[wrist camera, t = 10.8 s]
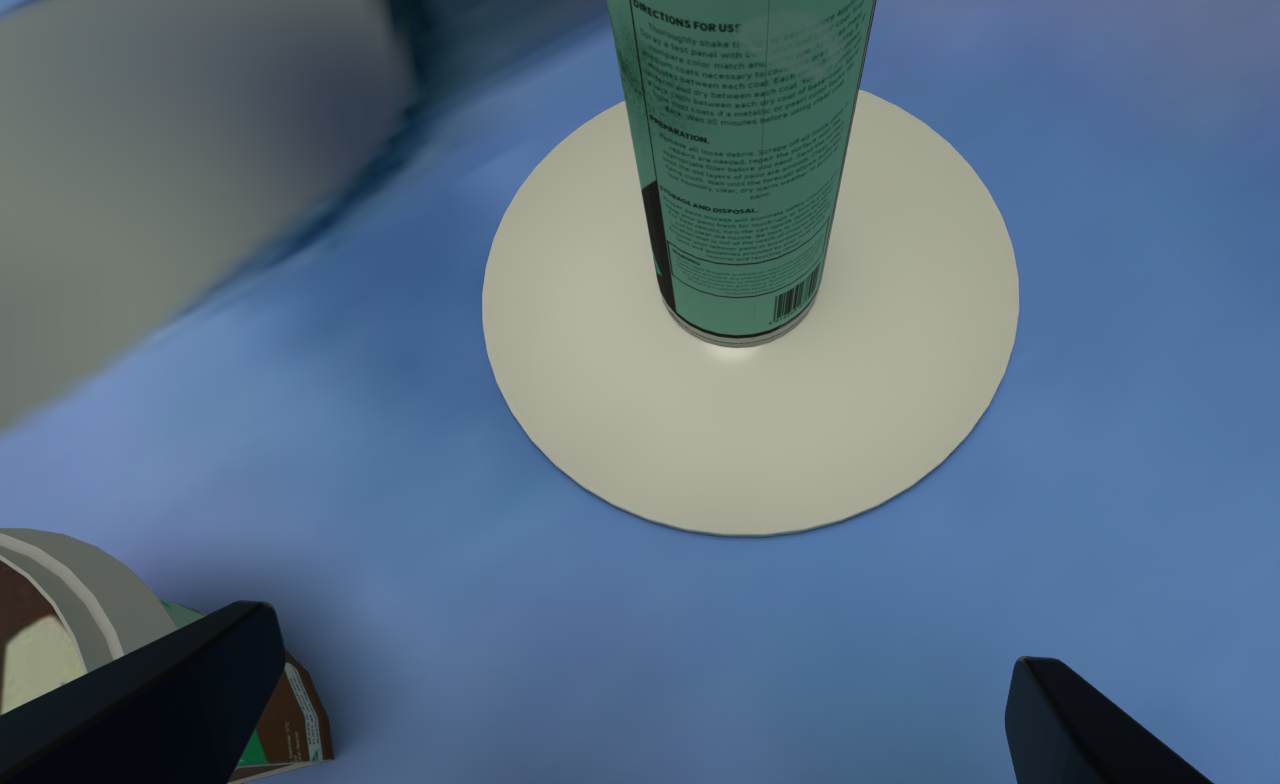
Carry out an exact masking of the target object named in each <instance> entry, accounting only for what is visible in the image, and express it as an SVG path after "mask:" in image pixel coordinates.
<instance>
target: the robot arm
mask: <svg viewBox="0 0 1280 784" xmlns="http://www.w3.org/2000/svg"><path fill="white" fill-rule="evenodd" d="M285 665H286V649H285V645H284V641H283V638H282V634H281V630H280V626H279V622H278V618H277V614H276V611H275V609H274V607H273V606H272V605H271V604H269V603H267V602H261V601H247V600H241V601H236V602H234V603H231V604H229V605H227V606H225V607H223V608H221V609H219V610H217V611H215V612H213V613H211V614H209V615H207V616H205V617H203V618H200V619H198V620H196V621H194V622H192V623H190V624H188V625H186V626H184V627H182V628H180V629H178V630H176V631H174V632H172V633H169V634H167V635H165V636H163V637H161V638H159V639H157V640H155V641H153V642H151V643H149V644H147V645H145V646H143V647H141V648H138V649H136V650H134V651H132V652H130V653H128V654H126V655H124V656H122V657H120V658H118V659H116V660H114V661H112V662H110V663H107V664H105V665H103V666H101V667H99V668H97V669H95V670H93V671H91V672H89V673H87V674H85V675H83V676H81V677H78V678H76V679H74V680H72V681H70V682H68V683H66V684H64V685H62V686H60V687H58V688H56V689H54V690H52V691H50V692H47V693H45V694H43V695H41V696H39V697H37V698H35V699H33V700H31V701H29V702H27V703H25V704H23V705H21V706H19V707H16V708H14V709H12V710H10V711H8V712H6V713H4V714H2V715H0V784H228V782H229V780H230V778H231V776H232V774H233V772H234V770H235V769H236V767H237V765H238V763H239V761H240V759H241V757H242V755H243V753H244V751H245V749H246V747H247V745H248V743H249V741H250V739H251V737H252V735H253V733H254V731H255V729H256V727H257V725H258V723H259V721H260V719H261V717H262V715H263V713H264V711H265V709H266V706H267V704H268V702H269V700H270V698H271V696H272V694H273V692H274V690H275V688H276V686H277V684H278V682H279V680H280V678H281V676H282V674H283V672H284V669H285ZM1005 729H1006V736H1007V740H1008V745H1009V749H1010V753H1011V758H1012V762H1013V766H1014V771H1015V775H1016V779H1017V783H1018V784H1214V783H1212V782H1211V781H1210V780H1209V779H1208V778H1206V777H1205V776H1204V775H1203V774H1201V773H1200V772H1199V771H1198V770H1196V769H1195V768H1194V767H1193V766H1191V765H1190V764H1189V763H1188V762H1186V761H1185V760H1184V759H1183V758H1181V757H1180V756H1179V755H1178V754H1176V753H1175V752H1174V751H1173V750H1171V749H1170V748H1169V747H1168V746H1167V745H1165V744H1164V743H1163V742H1162V741H1160V740H1159V739H1158V738H1157V737H1155V736H1154V735H1153V734H1152V733H1150V732H1149V731H1148V730H1147V729H1145V728H1144V727H1143V726H1142V725H1140V724H1139V723H1138V722H1137V721H1135V720H1134V719H1133V718H1132V717H1130V716H1129V715H1128V714H1127V713H1126V712H1124V711H1123V710H1122V709H1121V708H1119V707H1118V706H1117V705H1116V704H1114V703H1113V702H1112V701H1111V700H1109V699H1108V698H1107V697H1106V696H1104V695H1103V694H1102V693H1101V692H1099V691H1098V690H1097V689H1096V688H1094V687H1093V686H1092V685H1091V684H1089V683H1088V682H1087V681H1086V680H1085V679H1083V678H1082V677H1081V676H1080V675H1078V674H1077V673H1076V672H1075V671H1073V670H1072V669H1071V668H1070V667H1068V666H1067V665H1066V664H1065V663H1063V662H1062V661H1060V660H1058V659H1055V658H1045V657H1031V656H1022V657H1021V658H1019V659H1018V660H1017V661H1016V663H1015V665H1014V669H1013V675H1012V680H1011V685H1010V690H1009V695H1008V700H1007V705H1006V710H1005Z"/></svg>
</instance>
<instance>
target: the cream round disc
mask: <svg viewBox="0 0 1280 784" xmlns="http://www.w3.org/2000/svg"><path fill="white" fill-rule="evenodd" d="M482 309H483V329H484V335H485V341H486V347H487V353H488V357H489V360H490V363H491V366H492V369H493V372H494V375H495V378H496V381H497V384H498V386H499V388H500V390H501V392H502V394H503V396H504V398H505V400H506V402H507V404H508V406H509V408H510V410H511V412H512V413H513V415H514V416H515V417H516V419H517V420H518V422H519V423H520V425H521V426H522V427H523V429H524V430H525V432H526V433H527V434H528V436H529V437H530V439H531V440H532V441H533V443H534V444H535V445H536V446H537V447H538V448H539V449H540V450H541V451H542V452H543V453H544V454H545V456H546V457H547V458H548V459H549V460H550V461H551V462H552V463H553V464H554V465H555V466H556V467H557V468H558V469H559V470H560V471H562V472H563V473H564V474H565V475H567V476H568V477H569V478H570V479H572V480H573V481H574V482H576V483H577V484H578V485H579V486H581V487H582V488H583V489H584V490H586V491H588V492H589V493H591V494H593V495H594V496H596V497H598V498H600V499H601V500H603V501H605V502H606V503H608V504H610V505H611V506H613V507H615V508H617V509H619V510H622V511H624V512H627V513H629V514H631V515H634V516H636V517H639V518H641V519H643V520H646V521H648V522H651V523H655V524H658V525H662V526H666V527H669V528H673V529H677V530H681V531H684V532H690V533H697V534H705V535H712V536H719V537H770V536H778V535H786V534H794V533H803V532H806V531H810V530H814V529H818V528H822V527H826V526H829V525H833V524H837V523H841V522H843V521H846V520H848V519H851V518H853V517H856V516H858V515H860V514H863V513H865V512H868V511H870V510H873V509H875V508H877V507H879V506H881V505H883V504H884V503H886V502H888V501H889V500H891V499H893V498H895V497H896V496H898V495H900V494H902V493H903V492H905V491H907V490H909V489H910V488H911V487H913V486H914V485H915V484H916V483H918V482H919V481H920V480H922V479H923V478H924V477H925V476H927V475H928V474H929V473H931V472H932V471H933V470H934V469H936V468H937V467H938V466H939V465H940V464H941V463H942V462H943V461H944V460H945V459H946V458H947V457H948V456H949V455H950V454H951V453H952V452H953V451H954V450H955V449H956V448H957V446H958V445H959V444H960V443H961V442H962V441H963V440H964V439H965V438H966V437H967V435H968V434H969V433H970V431H971V430H972V428H973V427H974V426H975V424H976V423H977V421H978V420H979V418H980V417H981V416H982V414H983V413H984V411H985V410H986V408H987V407H988V406H989V404H990V402H991V400H992V398H993V396H994V394H995V392H996V390H997V388H998V386H999V384H1000V382H1001V380H1002V378H1003V376H1004V374H1005V371H1006V368H1007V364H1008V361H1009V358H1010V355H1011V351H1012V348H1013V345H1014V341H1015V335H1016V328H1017V320H1018V313H1019V286H1018V273H1017V267H1016V262H1015V257H1014V251H1013V246H1012V243H1011V240H1010V238H1009V235H1008V232H1007V229H1006V226H1005V223H1004V221H1003V218H1002V216H1001V214H1000V212H999V210H998V208H997V206H996V204H995V202H994V200H993V199H992V197H991V195H990V193H989V191H988V189H987V188H986V186H985V185H984V184H983V182H982V181H981V180H980V178H979V177H978V176H977V174H976V173H975V171H974V170H973V169H972V167H971V166H970V165H969V164H968V162H967V161H966V160H965V159H964V158H963V157H962V156H961V155H960V154H959V153H958V152H957V151H956V150H955V149H954V148H953V147H952V146H951V145H950V144H949V143H948V142H947V141H946V140H945V139H943V138H942V137H941V136H940V135H938V134H937V133H936V132H935V131H934V130H932V129H931V128H930V127H929V126H927V125H926V124H925V123H923V122H922V121H920V120H919V119H917V118H915V117H914V116H912V115H911V114H909V113H907V112H906V111H904V110H903V109H901V108H899V107H898V106H896V105H894V104H891V103H889V102H887V101H885V100H883V99H881V98H879V97H877V96H875V95H873V94H871V93H868V92H865V91H862V90H859V92H858V97H857V102H856V107H855V112H854V117H853V122H852V127H851V133H850V138H849V143H848V148H847V153H846V158H845V163H844V168H843V173H842V178H841V183H840V189H839V194H838V199H837V204H836V209H835V214H834V219H833V224H832V229H831V234H830V239H829V245H828V250H827V255H826V260H825V265H824V270H823V275H822V280H821V284H820V287H819V291H818V294H817V297H816V299H815V302H814V305H813V306H812V308H811V309H810V311H809V313H808V314H807V316H806V317H805V318H804V319H803V320H802V321H801V322H800V323H799V324H798V325H797V326H796V327H795V328H794V329H792V330H791V331H790V332H788V333H787V334H785V335H784V336H782V337H780V338H778V339H775V340H773V341H771V342H769V343H765V344H761V345H757V346H753V347H740V348H734V347H724V346H718V345H715V344H711V343H708V342H705V341H703V340H701V339H699V338H697V337H695V336H693V335H691V334H690V333H688V332H687V331H686V330H684V329H683V328H682V327H680V326H679V325H678V324H677V322H676V321H675V320H674V319H673V318H672V316H671V315H670V314H669V312H668V310H667V308H666V306H665V305H664V303H663V299H662V296H661V293H660V289H659V285H658V281H657V276H656V270H655V265H654V259H653V254H652V248H651V242H650V237H649V231H648V226H647V220H646V215H645V209H644V203H643V198H642V192H641V187H640V181H639V176H638V170H637V164H636V159H635V153H634V148H633V142H632V137H631V131H630V125H629V120H628V114H627V109H626V103H625V101H623V102H621V103H619V104H617V105H615V106H613V107H611V108H609V109H607V110H605V111H604V112H602V113H601V114H599V115H597V116H596V117H594V118H593V119H591V120H590V121H588V122H587V123H585V124H583V125H582V126H580V127H579V128H578V129H577V130H575V131H574V132H573V133H572V134H570V135H569V136H568V137H567V138H566V139H564V140H563V141H562V142H561V143H559V144H558V145H557V146H556V147H555V148H554V149H553V150H552V151H551V152H550V153H549V154H548V155H547V156H546V157H545V158H544V159H543V160H542V161H541V162H540V163H539V164H538V165H537V166H536V168H535V169H534V170H533V172H532V173H531V174H530V176H529V177H528V178H527V179H526V181H525V182H524V183H523V185H522V186H521V187H520V188H519V190H518V192H517V193H516V195H515V197H514V199H513V200H512V202H511V204H510V205H509V207H508V209H507V210H506V212H505V214H504V216H503V219H502V221H501V223H500V226H499V228H498V230H497V233H496V235H495V237H494V240H493V243H492V247H491V251H490V254H489V258H488V262H487V265H486V271H485V278H484V286H483V294H482Z"/></svg>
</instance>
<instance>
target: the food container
mask: <svg viewBox="0 0 1280 784" xmlns="http://www.w3.org/2000/svg"><path fill="white" fill-rule="evenodd" d="M207 615H208V614H205V613H202V612H199V611H196V610H193V609H190V608H187V607H184V606H181V605H178V604H175V603H172V602H169V601H166V600H163V599H159V598H157V597H156V595H155V593H154V592H153V591H152V590H151V589H150V588H149V587H148V586H147V585H146V584H145V583H144V582H143V581H142V580H141V579H140V578H139V577H138V576H137V575H136V574H135V573H134V572H133V571H132V570H131V569H130V568H129V567H128V566H126V565H124V564H123V563H121V562H120V561H118V560H117V559H115V558H114V557H112V556H110V555H109V554H107V553H106V552H104V551H103V550H101V549H100V548H98V547H96V546H93V545H91V544H88V543H85V542H83V541H80V540H77V539H75V538H72V537H69V536H67V535H64V534H58V533H52V532H46V531H39V530H33V529H21V528H0V715H2V714H4V713H6V712H8V711H10V710H12V709H14V708H16V707H19V706H21V705H23V704H25V703H27V702H29V701H31V700H33V699H35V698H37V697H39V696H41V695H43V694H45V693H47V692H50V691H52V690H54V689H56V688H58V687H60V686H62V685H64V684H66V683H68V682H70V681H72V680H74V679H76V678H78V677H81V676H83V675H85V674H87V673H89V672H91V671H93V670H95V669H97V668H99V667H101V666H103V665H105V664H107V663H110V662H112V661H114V660H116V659H118V658H120V657H122V656H124V655H126V654H128V653H130V652H132V651H134V650H136V649H138V648H141V647H143V646H145V645H147V644H149V643H151V642H153V641H155V640H157V639H159V638H161V637H163V636H165V635H167V634H169V633H172V632H174V631H176V630H178V629H180V628H182V627H184V626H186V625H188V624H190V623H192V622H194V621H196V620H198V619H200V618H203V617H205V616H207ZM331 760H334V756H333V749H332V742H331V734H330V727H329V720H328V717H327V714H326V712H325V710H324V707H323V705H322V703H321V701H320V698H319V696H318V694H317V692H316V689H315V687H314V685H313V682H312V680H311V678H310V676H309V673H308V672H307V671H306V670H305V669H304V668H303V667H302V666H301V665H300V664H299V663H298V662H297V661H296V660H295V659H294V658H293V657H292V656H291V654H290V653H289V652H288V651H287V650H286V665H285V669H284V672H283V674H282V676H281V678H280V680H279V682H278V684H277V686H276V688H275V690H274V692H273V694H272V696H271V698H270V700H269V702H268V704H267V706H266V709H265V711H264V713H263V715H262V717H261V719H260V721H259V723H258V725H257V727H256V729H255V731H254V733H253V735H252V737H251V739H250V741H249V743H248V745H247V747H246V749H245V751H244V753H243V755H242V757H241V759H240V761H239V763H238V765H237V767H236V769H235V770H234V772H233V774H232V776H231V778H230V780H229V782H228V784H241V783H245V782H249V781H253V780H257V779H261V778H264V777H268V776H272V775H276V774H280V773H284V772H288V771H292V770H296V769H300V768H303V767H307V766H311V765H315V764H319V763H323V762H327V761H331Z"/></svg>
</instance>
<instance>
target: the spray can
mask: <svg viewBox="0 0 1280 784" xmlns="http://www.w3.org/2000/svg"><path fill="white" fill-rule="evenodd" d="M607 3H608V9H609V14H610V20H611V25H612V31H613V36H614V42H615V48H616V53H617V59H618V64H619V70H620V75H621V81H622V87H623V92H624V98H625V103H626V109H627V114H628V120H629V125H630V131H631V137H632V142H633V148H634V153H635V159H636V164H637V170H638V176H639V181H640V187H641V192H642V198H643V203H644V209H645V215H646V220H647V226H648V231H649V237H650V242H651V248H652V254H653V259H654V265H655V270H656V276H657V281H658V285H659V289H660V293H661V296H662V299H663V303H664V305H665V306H666V308H667V310H668V312H669V314H670V315H671V316H672V318H673V319H674V320H675V321H676V322H677V324H678V325H679V326H680V327H682V328H683V329H684V330H686V331H687V332H688V333H690V334H691V335H693V336H695V337H697V338H699V339H701V340H703V341H705V342H708V343H711V344H715V345H718V346H724V347H734V348H740V347H753V346H757V345H761V344H765V343H769V342H771V341H773V340H775V339H778V338H780V337H782V336H784V335H785V334H787V333H788V332H790V331H791V330H792V329H794V328H795V327H796V326H797V325H798V324H799V323H800V322H801V321H802V320H803V319H804V318H805V317H806V316H807V314H808V313H809V311H810V309H811V308H812V306H813V305H814V302H815V299H816V297H817V294H818V291H819V287H820V284H821V280H822V275H823V270H824V265H825V260H826V255H827V250H828V245H829V239H830V234H831V229H832V224H833V219H834V214H835V209H836V204H837V199H838V194H839V189H840V183H841V178H842V173H843V168H844V163H845V158H846V153H847V148H848V143H849V138H850V133H851V127H852V122H853V117H854V112H855V107H856V102H857V97H858V92H859V87H860V82H861V77H862V72H863V66H864V61H865V56H866V51H867V46H868V41H869V36H870V31H871V26H872V21H873V16H874V10H875V5H876V0H607Z"/></svg>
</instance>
